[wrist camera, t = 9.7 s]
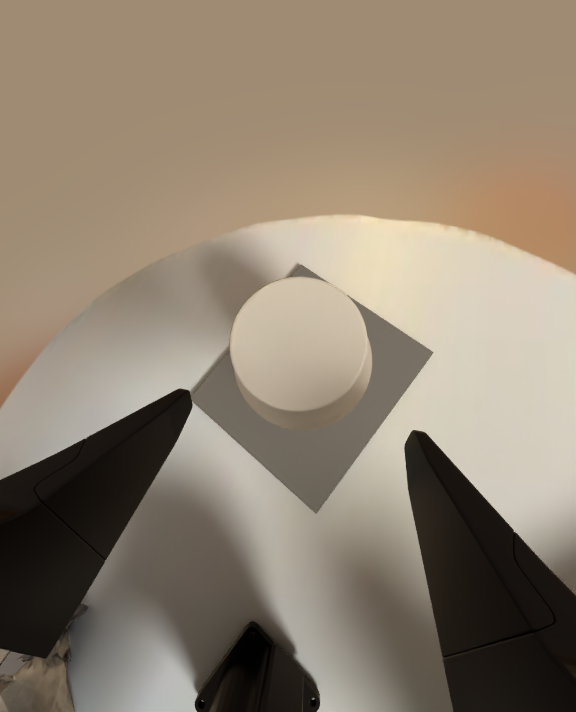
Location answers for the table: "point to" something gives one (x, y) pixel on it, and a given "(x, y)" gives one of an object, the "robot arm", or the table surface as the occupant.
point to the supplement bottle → (300, 353)
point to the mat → (327, 444)
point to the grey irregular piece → (40, 680)
